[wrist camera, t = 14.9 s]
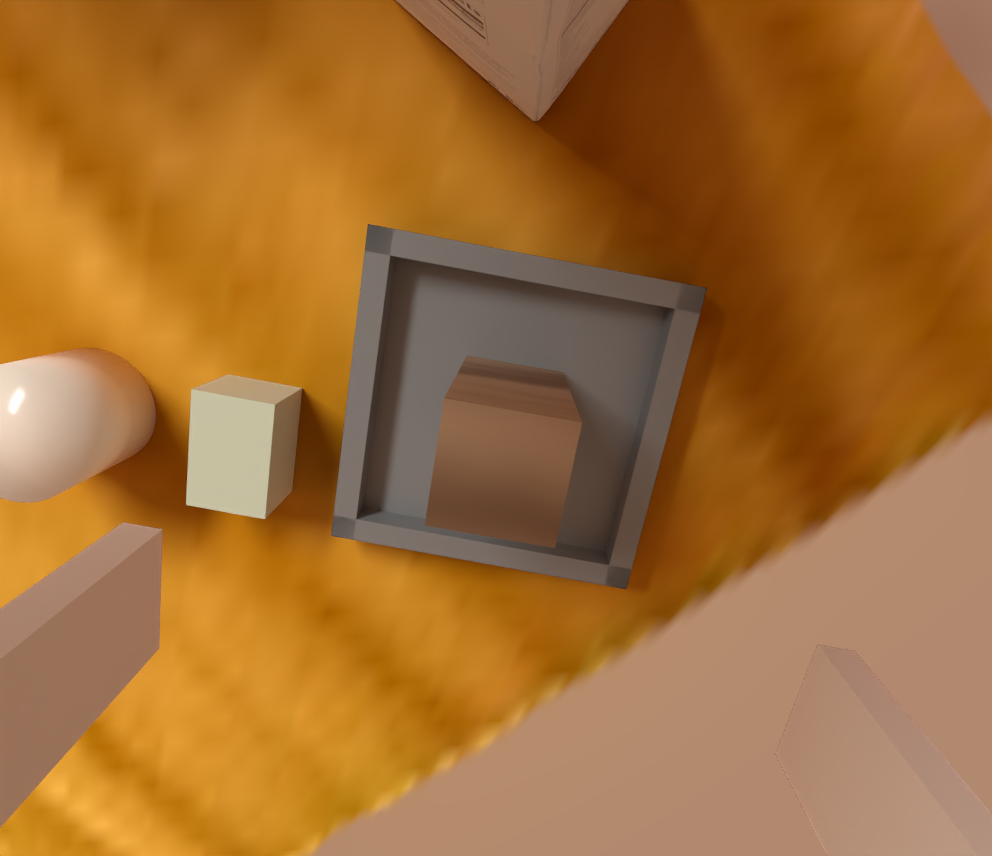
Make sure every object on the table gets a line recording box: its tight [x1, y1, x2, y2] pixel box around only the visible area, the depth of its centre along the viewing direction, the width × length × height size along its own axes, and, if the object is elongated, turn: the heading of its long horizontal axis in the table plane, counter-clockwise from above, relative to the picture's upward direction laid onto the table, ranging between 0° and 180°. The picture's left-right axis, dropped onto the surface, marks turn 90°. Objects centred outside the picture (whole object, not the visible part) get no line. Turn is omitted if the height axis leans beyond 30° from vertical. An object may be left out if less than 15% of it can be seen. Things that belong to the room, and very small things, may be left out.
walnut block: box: [425, 355, 582, 548], centre depth 27 cm, size 5×5×10 cm
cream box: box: [186, 374, 302, 519], centre depth 32 cm, size 6×4×4 cm, turn 170°
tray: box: [331, 224, 707, 589], centre depth 32 cm, size 16×16×2 cm
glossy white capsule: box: [0, 348, 156, 502], centre depth 31 cm, size 6×6×6 cm
